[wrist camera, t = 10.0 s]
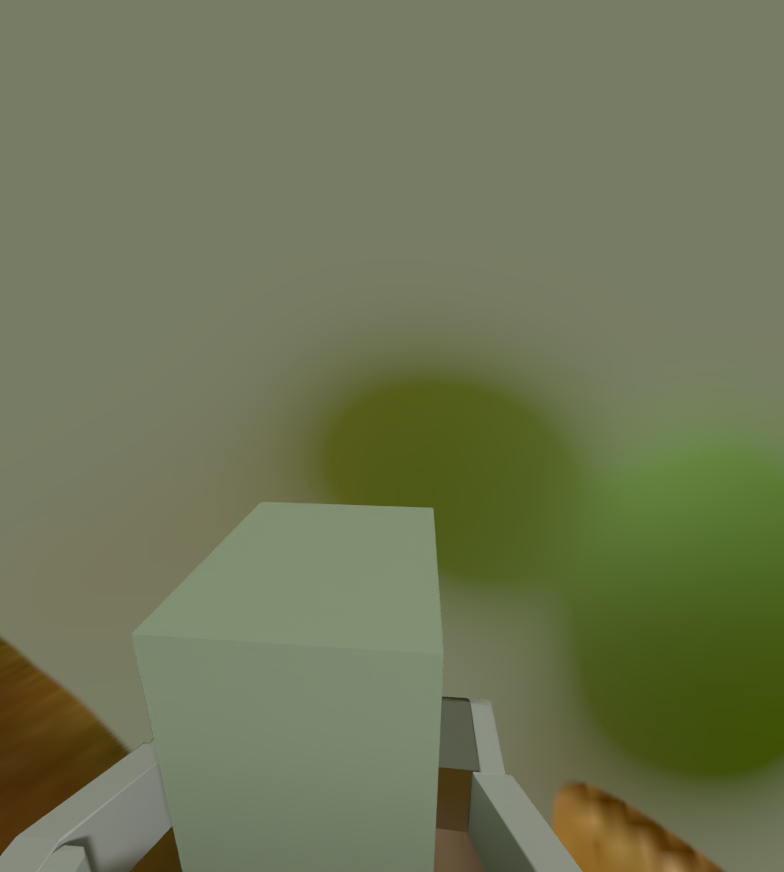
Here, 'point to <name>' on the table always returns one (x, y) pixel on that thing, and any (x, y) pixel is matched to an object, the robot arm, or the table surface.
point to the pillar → (302, 693)
